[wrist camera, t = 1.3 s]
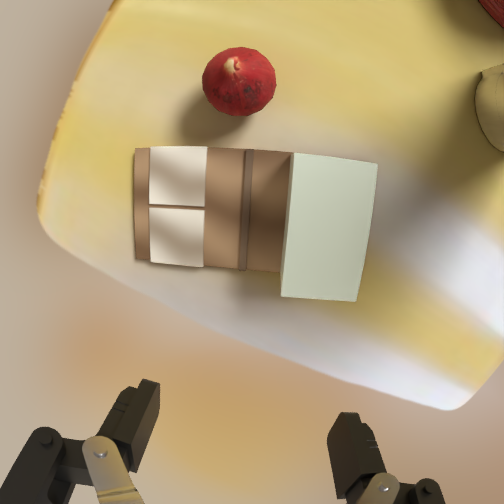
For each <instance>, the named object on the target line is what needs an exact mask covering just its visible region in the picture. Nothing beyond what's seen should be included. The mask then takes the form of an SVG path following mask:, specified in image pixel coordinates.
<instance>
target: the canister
mask: <svg viewBox="0 0 504 504" xmlns="http://www.w3.org/2000/svg"><path fill="white" fill-rule="evenodd" d="M479 2H480V3H481V4H482V6H483V7H484V8H485V9H486V10H487V12H488V13H489V14H490V15H491V16H492V17H493V18H494V19H495V20H496V21H497V22H498V23H499V24H500V25H501V26H502V27H504V0H479Z"/></svg>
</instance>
